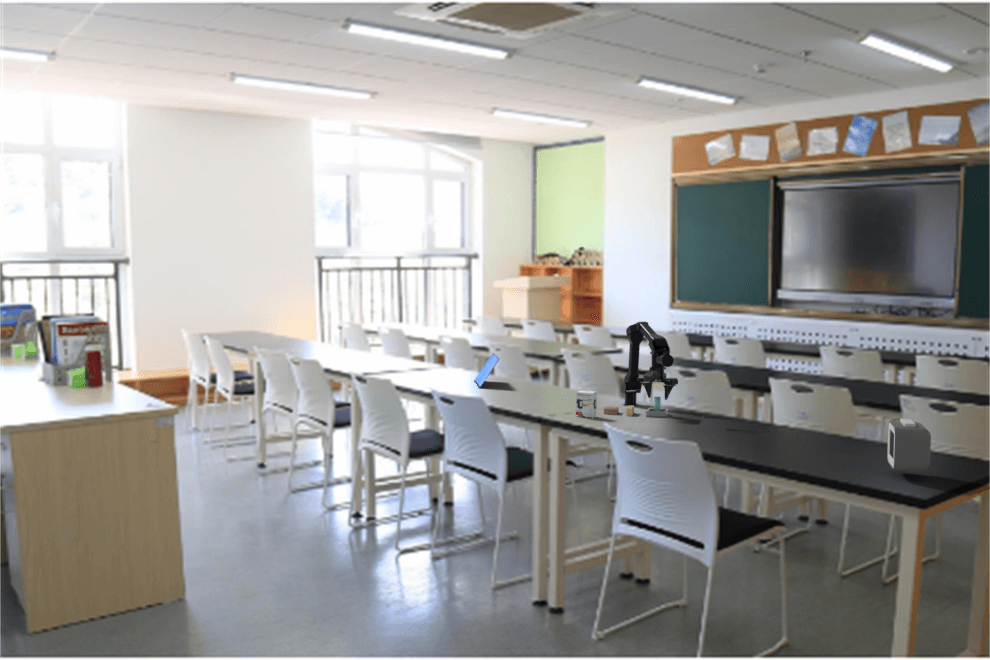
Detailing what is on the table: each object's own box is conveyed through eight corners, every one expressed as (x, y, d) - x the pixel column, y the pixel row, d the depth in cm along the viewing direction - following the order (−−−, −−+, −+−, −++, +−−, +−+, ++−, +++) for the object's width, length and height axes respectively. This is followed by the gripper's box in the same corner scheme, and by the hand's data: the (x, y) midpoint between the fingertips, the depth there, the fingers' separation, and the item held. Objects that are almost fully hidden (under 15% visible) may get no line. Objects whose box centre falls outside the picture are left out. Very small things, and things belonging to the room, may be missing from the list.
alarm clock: (886, 460, 304) (888, 416, 303) (922, 462, 301) (923, 417, 300) (893, 470, 289) (895, 424, 288) (931, 473, 285) (933, 426, 284)
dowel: (652, 414, 399) (653, 397, 398) (656, 413, 401) (656, 396, 400) (657, 415, 397) (658, 397, 396) (661, 414, 399) (661, 397, 398)
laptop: (438, 385, 507) (438, 353, 505) (493, 384, 511) (493, 353, 509) (442, 392, 477) (441, 359, 476) (499, 391, 481) (499, 358, 480)
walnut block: (605, 412, 408) (605, 406, 408) (618, 413, 407) (618, 407, 406) (603, 415, 403) (603, 408, 402) (616, 415, 401) (616, 409, 401)
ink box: (575, 417, 394) (575, 391, 393) (579, 415, 399) (579, 390, 398) (592, 418, 390) (593, 392, 389) (596, 417, 395) (597, 391, 394)
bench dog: (628, 413, 406) (628, 405, 406) (634, 413, 405) (634, 405, 405) (626, 415, 398) (626, 408, 398) (631, 416, 398) (631, 408, 397)
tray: (648, 413, 404) (648, 408, 404) (668, 414, 402) (668, 408, 402) (646, 416, 396) (646, 411, 396) (666, 417, 393) (666, 412, 393)
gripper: (630, 364, 398) (630, 398, 399) (664, 367, 385) (664, 402, 386) (645, 362, 406) (645, 396, 407) (679, 365, 392) (678, 400, 393)
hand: (657, 398), depth 398 cm, fingers open, 9 cm apart
